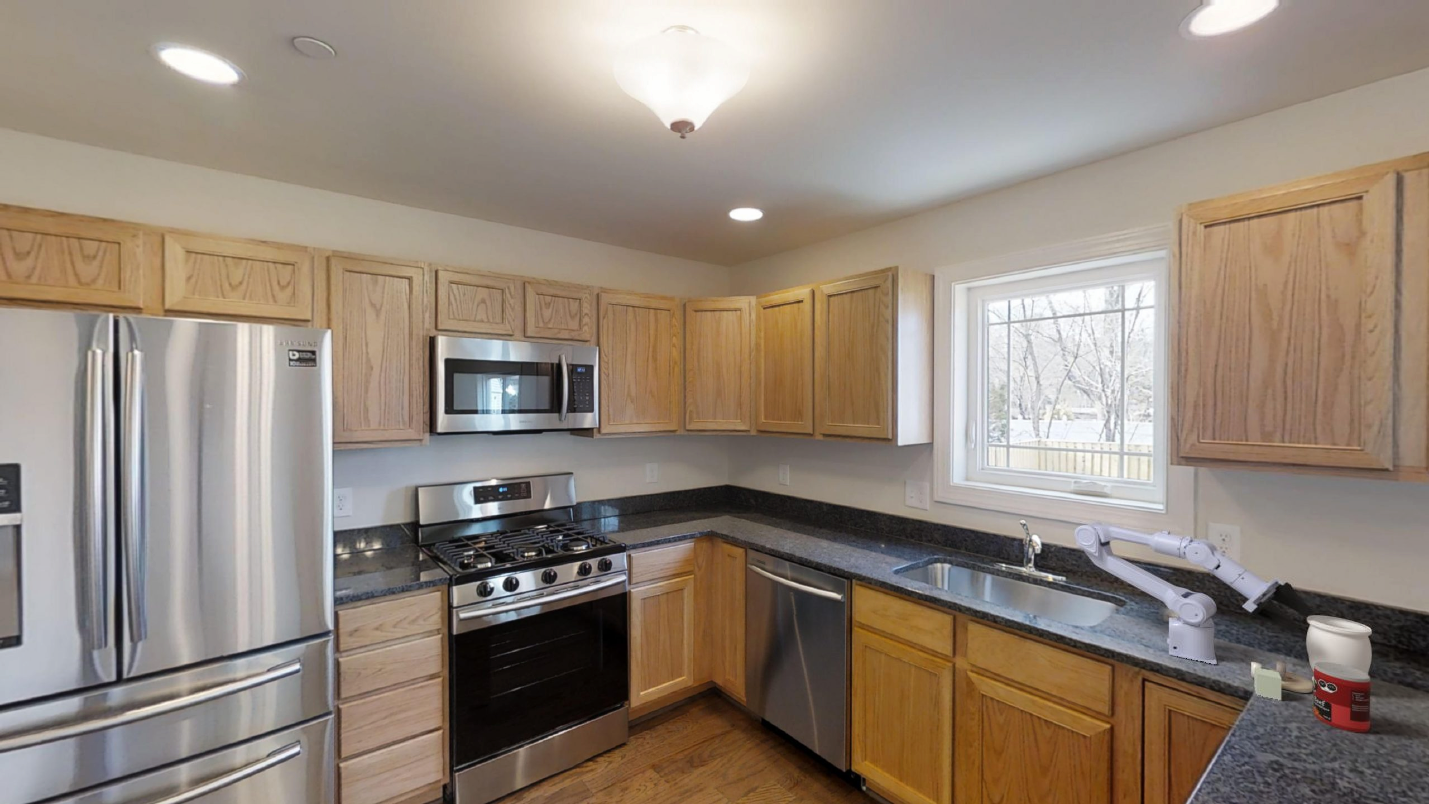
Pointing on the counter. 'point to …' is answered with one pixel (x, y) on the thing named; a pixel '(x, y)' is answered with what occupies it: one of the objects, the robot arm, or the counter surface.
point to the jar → (1338, 642)
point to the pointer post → (1253, 665)
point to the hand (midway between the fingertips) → (1303, 621)
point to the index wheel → (1293, 680)
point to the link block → (1267, 683)
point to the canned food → (1341, 696)
